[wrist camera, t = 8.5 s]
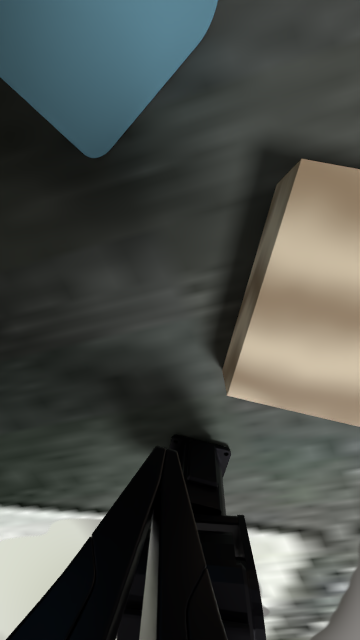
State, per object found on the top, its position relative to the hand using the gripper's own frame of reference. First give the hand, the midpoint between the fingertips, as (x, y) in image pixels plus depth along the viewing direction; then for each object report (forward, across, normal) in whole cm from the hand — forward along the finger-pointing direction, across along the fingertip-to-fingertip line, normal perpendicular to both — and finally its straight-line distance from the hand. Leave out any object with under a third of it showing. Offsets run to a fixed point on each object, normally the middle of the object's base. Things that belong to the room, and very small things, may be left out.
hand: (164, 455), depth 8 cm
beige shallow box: (+12, -10, -6) cm, 16 cm away
